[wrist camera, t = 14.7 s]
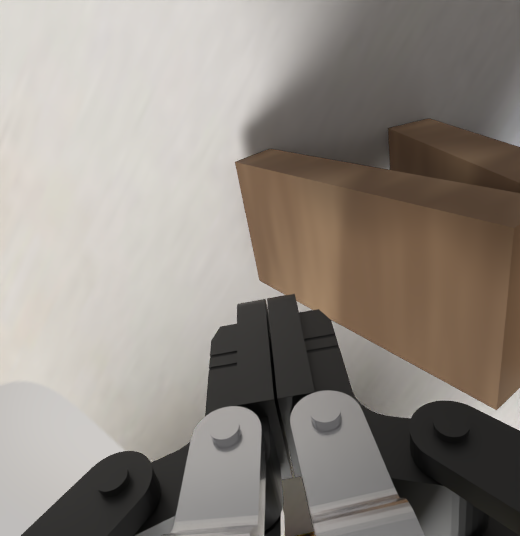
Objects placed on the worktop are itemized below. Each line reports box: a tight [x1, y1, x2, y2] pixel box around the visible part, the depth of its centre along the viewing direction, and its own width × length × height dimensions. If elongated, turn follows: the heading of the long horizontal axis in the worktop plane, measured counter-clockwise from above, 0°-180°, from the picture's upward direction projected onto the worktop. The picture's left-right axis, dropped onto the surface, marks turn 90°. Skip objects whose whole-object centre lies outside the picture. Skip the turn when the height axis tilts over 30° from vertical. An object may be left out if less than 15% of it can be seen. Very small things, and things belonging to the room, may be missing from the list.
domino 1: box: [235, 149, 520, 410], centre depth 14 cm, size 2×5×10 cm
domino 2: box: [388, 119, 520, 193], centre depth 14 cm, size 2×5×10 cm, turn 11°
